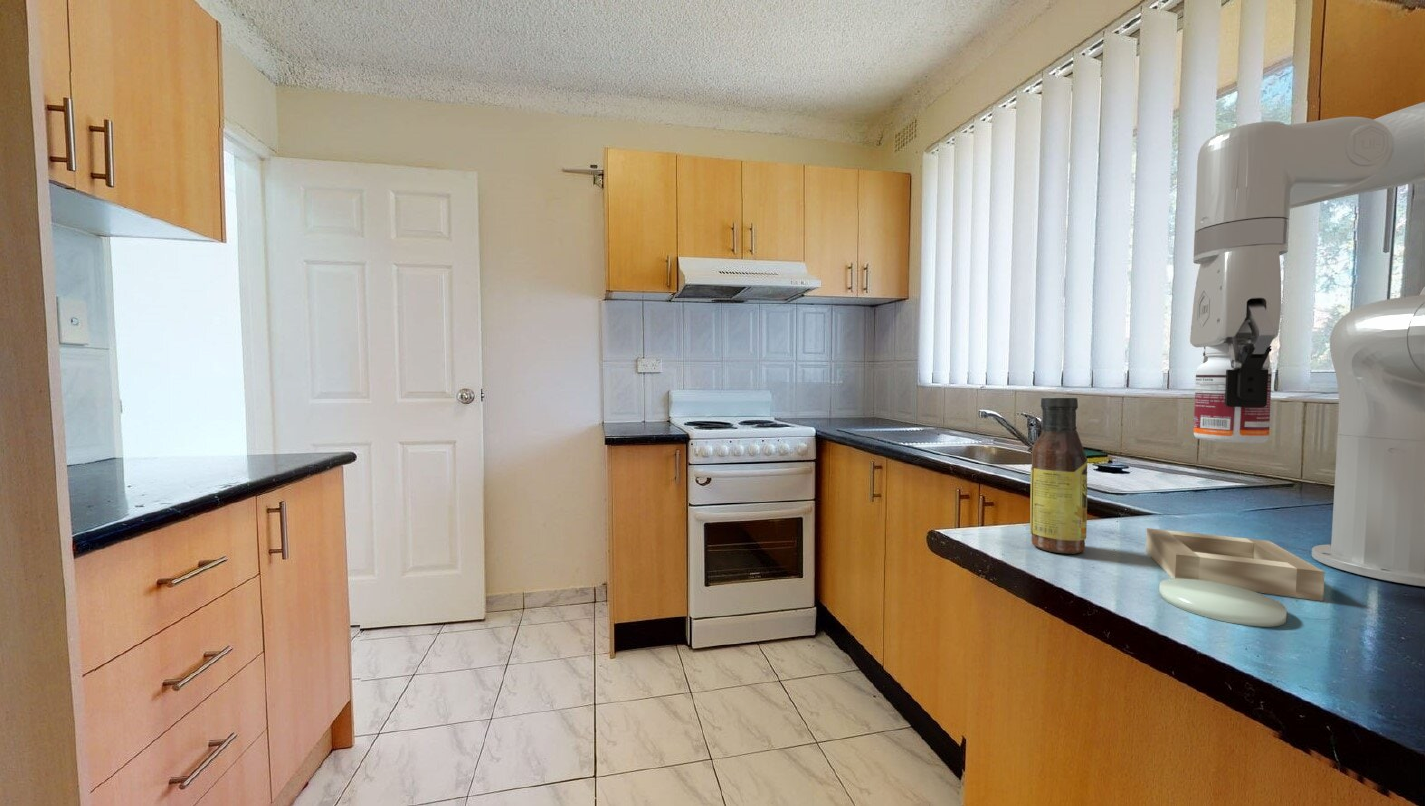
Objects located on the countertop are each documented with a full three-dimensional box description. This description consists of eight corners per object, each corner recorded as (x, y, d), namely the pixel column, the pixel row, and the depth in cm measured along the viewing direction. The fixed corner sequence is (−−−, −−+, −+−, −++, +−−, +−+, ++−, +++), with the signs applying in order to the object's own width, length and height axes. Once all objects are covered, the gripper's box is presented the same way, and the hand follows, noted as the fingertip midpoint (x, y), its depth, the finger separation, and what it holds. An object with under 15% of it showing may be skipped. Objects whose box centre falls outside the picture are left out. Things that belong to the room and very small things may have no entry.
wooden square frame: (1267, 565, 64) (1268, 540, 64) (1323, 601, 54) (1324, 571, 54) (1145, 551, 69) (1146, 528, 69) (1174, 581, 59) (1176, 554, 59)
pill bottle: (1257, 439, 62) (1263, 343, 61) (1278, 445, 56) (1284, 340, 56) (1186, 436, 65) (1191, 345, 64) (1200, 441, 60) (1205, 342, 59)
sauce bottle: (1095, 557, 67) (1101, 398, 66) (1040, 554, 68) (1045, 397, 67) (1071, 542, 73) (1076, 396, 72) (1021, 539, 74) (1025, 395, 73)
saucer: (1259, 597, 55) (1260, 587, 54) (1307, 634, 46) (1308, 623, 46) (1148, 582, 59) (1148, 573, 59) (1175, 614, 51) (1175, 603, 50)
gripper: (1171, 262, 69) (1166, 402, 70) (1225, 229, 54) (1217, 408, 54) (1249, 257, 66) (1243, 403, 67) (1331, 219, 50) (1321, 410, 51)
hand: (1231, 404), depth 60 cm, fingers closed on pill bottle, 6 cm apart
